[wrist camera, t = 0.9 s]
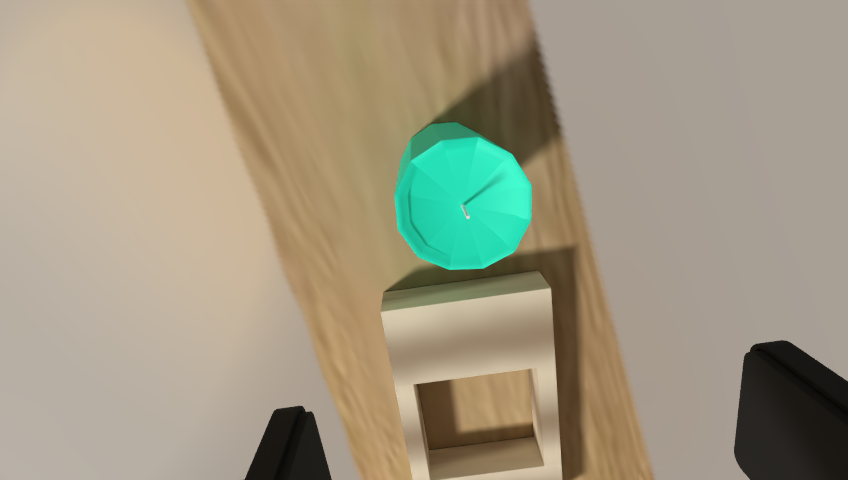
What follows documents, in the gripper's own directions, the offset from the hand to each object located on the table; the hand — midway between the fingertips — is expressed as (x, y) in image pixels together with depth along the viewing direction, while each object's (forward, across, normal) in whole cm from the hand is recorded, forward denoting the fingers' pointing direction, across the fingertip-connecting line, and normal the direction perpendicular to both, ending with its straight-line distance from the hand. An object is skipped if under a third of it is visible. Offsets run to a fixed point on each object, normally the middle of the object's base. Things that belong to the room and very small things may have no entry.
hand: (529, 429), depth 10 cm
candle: (+22, 0, -2) cm, 22 cm away
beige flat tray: (+21, 0, +16) cm, 26 cm away
